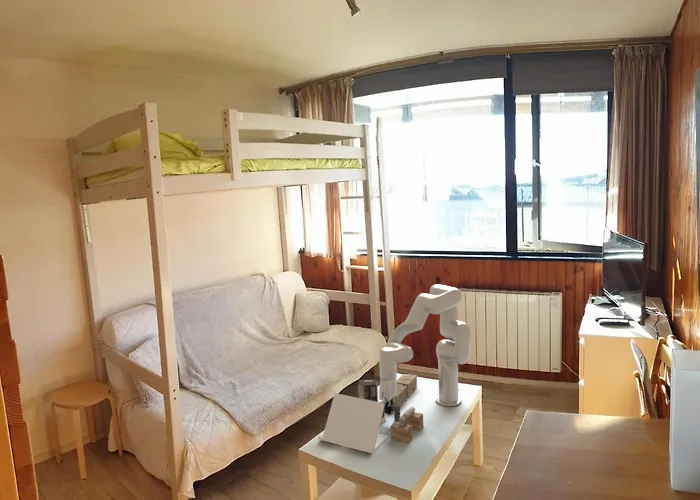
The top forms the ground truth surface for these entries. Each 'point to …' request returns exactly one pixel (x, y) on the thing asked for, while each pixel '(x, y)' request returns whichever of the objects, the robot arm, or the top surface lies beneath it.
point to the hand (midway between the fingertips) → (389, 412)
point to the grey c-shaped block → (396, 413)
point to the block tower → (405, 388)
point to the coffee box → (368, 390)
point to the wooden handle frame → (406, 425)
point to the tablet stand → (354, 423)
